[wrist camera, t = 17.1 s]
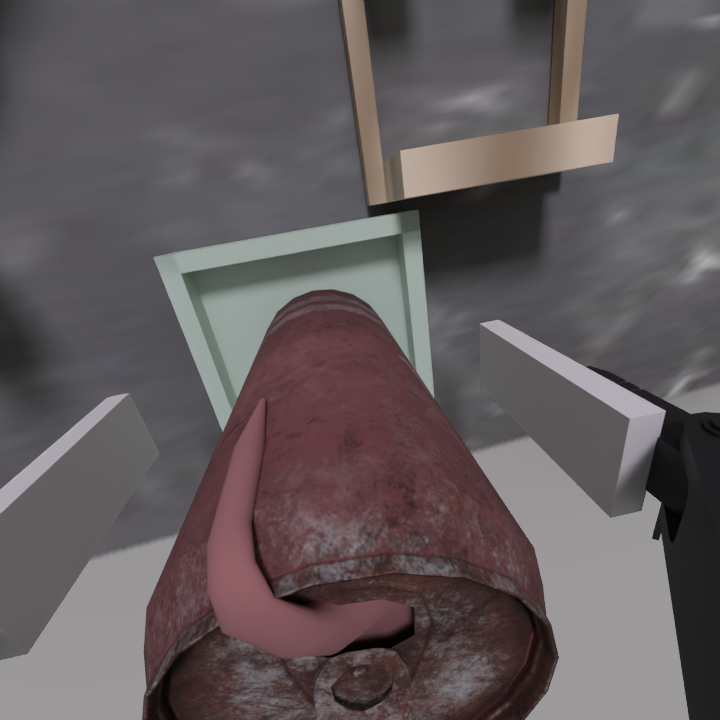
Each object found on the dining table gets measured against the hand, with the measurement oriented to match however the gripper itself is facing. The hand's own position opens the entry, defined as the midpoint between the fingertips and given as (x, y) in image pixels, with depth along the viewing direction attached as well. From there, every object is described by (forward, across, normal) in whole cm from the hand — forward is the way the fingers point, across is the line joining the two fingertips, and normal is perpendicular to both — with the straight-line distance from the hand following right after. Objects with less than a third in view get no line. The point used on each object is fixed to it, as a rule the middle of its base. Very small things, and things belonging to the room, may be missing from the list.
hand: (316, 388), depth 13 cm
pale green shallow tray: (+6, 0, 0) cm, 6 cm away
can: (+5, 0, 0) cm, 5 cm away
